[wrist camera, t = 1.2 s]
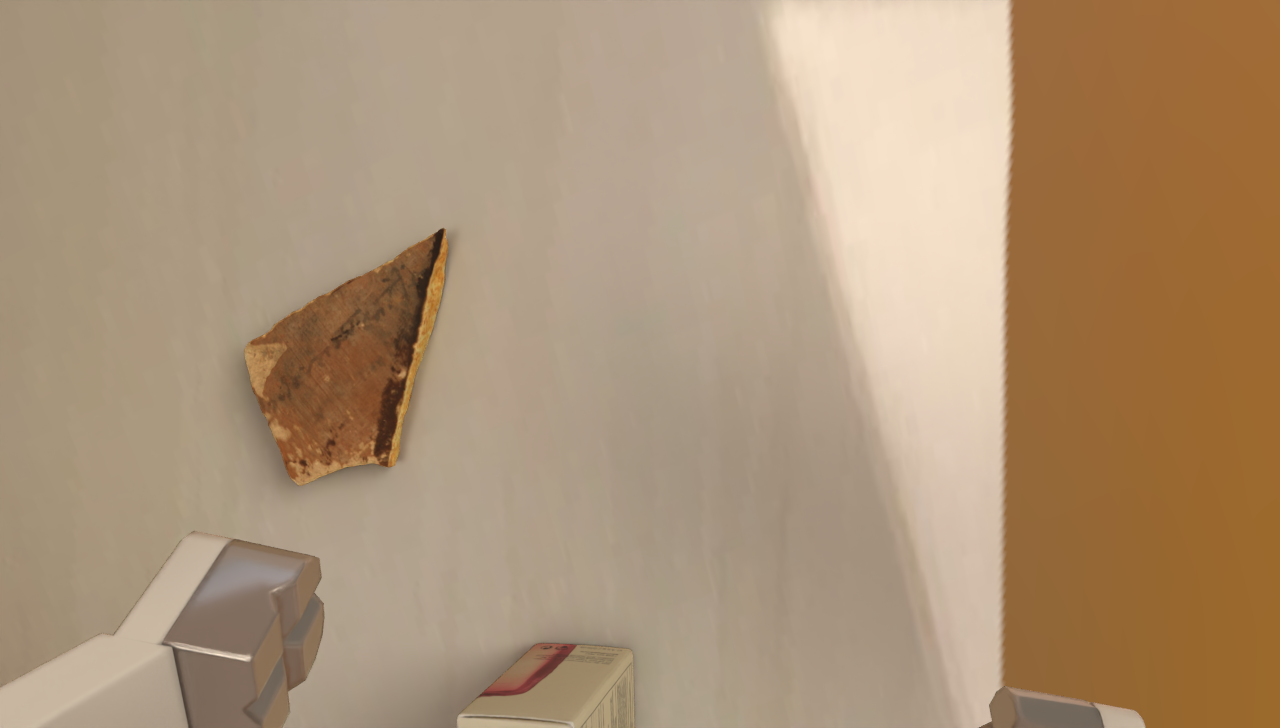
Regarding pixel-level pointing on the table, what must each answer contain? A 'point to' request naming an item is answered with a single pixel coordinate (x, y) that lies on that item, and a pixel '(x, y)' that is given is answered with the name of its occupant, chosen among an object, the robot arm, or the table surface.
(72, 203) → the table surface
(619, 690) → the small box
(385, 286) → the shard
